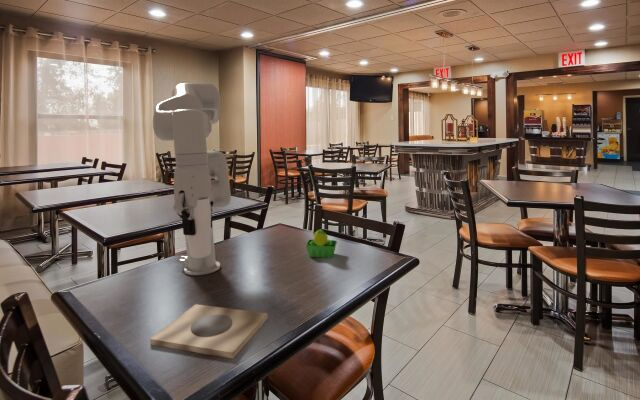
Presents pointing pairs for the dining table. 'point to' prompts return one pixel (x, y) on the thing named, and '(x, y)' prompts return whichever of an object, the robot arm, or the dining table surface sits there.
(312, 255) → the fruit basket
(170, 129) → the robot arm
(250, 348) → the dining table surface
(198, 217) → the drinking glass
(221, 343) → the serving board
